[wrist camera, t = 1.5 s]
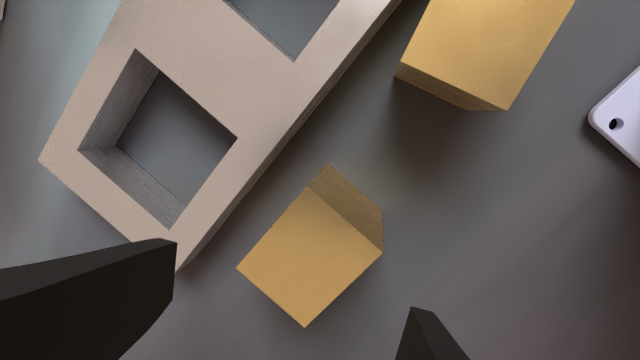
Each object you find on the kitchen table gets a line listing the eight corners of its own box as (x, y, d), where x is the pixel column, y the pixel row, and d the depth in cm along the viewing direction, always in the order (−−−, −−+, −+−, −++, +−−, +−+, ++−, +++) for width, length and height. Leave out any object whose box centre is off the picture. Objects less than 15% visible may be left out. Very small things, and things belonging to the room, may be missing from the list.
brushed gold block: (382, 210, 16) (382, 252, 12) (324, 267, 18) (304, 328, 13) (328, 163, 16) (306, 186, 12) (274, 224, 18) (235, 268, 13)
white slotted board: (455, -66, 13) (471, -102, 11) (197, 256, 19) (171, 276, 17) (290, -212, 13) (271, -279, 11) (79, 153, 19) (37, 160, 16)
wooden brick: (523, 9, 14) (603, -45, 9) (465, 110, 15) (507, 111, 10) (444, -26, 14) (479, -98, 9) (393, 76, 15) (400, 61, 10)
